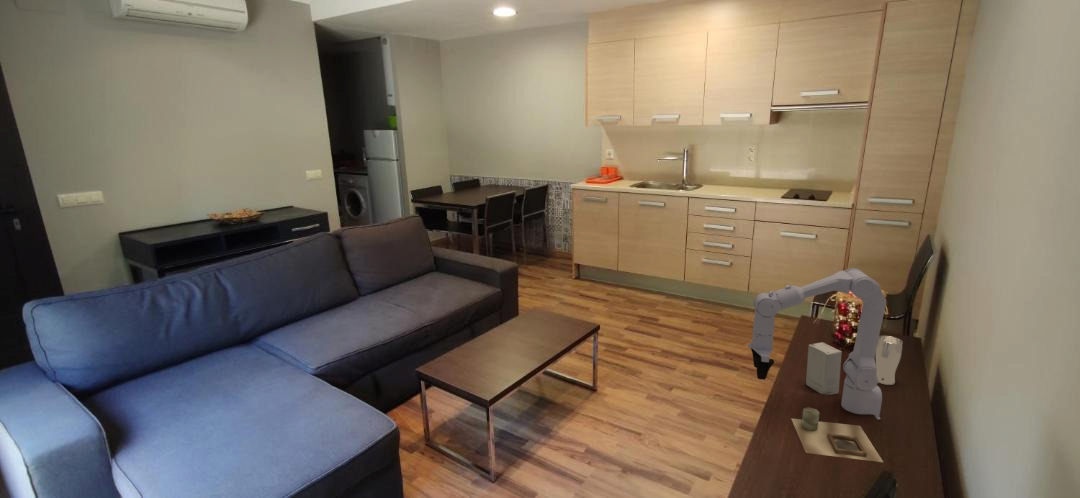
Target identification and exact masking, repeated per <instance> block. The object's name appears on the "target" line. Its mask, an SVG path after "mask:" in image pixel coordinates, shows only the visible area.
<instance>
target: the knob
mask: <svg viewBox="0 0 1080 498" xmlns="http://www.w3.org/2000/svg"><path fill="white" fill-rule="evenodd" d="M801 417H802V427H803V428H804V429H806V430H808V431H816V430H817V428H818V421H819V419H820V411H819V410H818V409H816V408H813V407H804V408H803V410H802V416H801Z"/></svg>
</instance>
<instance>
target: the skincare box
mask: <svg viewBox="0 0 1080 498" xmlns="http://www.w3.org/2000/svg"><path fill="white" fill-rule="evenodd" d="M807 349H808V352H807V365H806V383H805V385H807V387H809V388H811V389H812V390H814V391H816V392H817V393H819V394H821V395H828V396H829V395H830V396H831V395H838V394H839V393H840V381H841V366H842V365H841V363H842V352H843V351H841V350H839V349H837V348H836V347H833V346H831V345H829V344H827V343H825V342H817V343H815V342H814V343H812V344H811V343H810V344H808V348H807Z"/></svg>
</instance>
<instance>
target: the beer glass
mask: <svg viewBox="0 0 1080 498" xmlns="http://www.w3.org/2000/svg"><path fill="white" fill-rule="evenodd" d="M903 342H904V341H903V340H902V339H900V338H898V337H895V336H891V335H879V339H878V343H877V348H876V352H875V363H876V367H877V371H876V375H877V378H878V384H882V385H886V386H893V385H895V384H896V380H895V378H896V377H895V376H896V375H895V374H896V371H897V369H898V366H899V363H900V361H901V358H902V352H903Z"/></svg>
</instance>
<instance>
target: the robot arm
mask: <svg viewBox="0 0 1080 498" xmlns="http://www.w3.org/2000/svg"><path fill="white" fill-rule="evenodd" d="M833 291H835V292H839V293H843V294H845V295H849V294H850V292H851V293H852V294H853V296H855V297H857V298H858V299H860V300H861V301H862V303H863V304H862V306H861V307H862V308H861V311H860V312H861V313H860V317H859V321H858V327H857V332H856V337H855V343H854V346H853V350H852V351H851V352H850V353H848V357H847V359H846V360H845V361H844V363H843V365H842V370H843V372H844V373H845V374H846V375H845V378H844V383H843V389H842V397H841V403H840V405H841V407H842V408H843V409H844V410H846V411H847V412H848V413H852V414H856V415H872V416H873V415H874V417H875V418H876V420H879V421H880V420H881V417H880V415H881V408H882V403H883V393H882V390H881V388H880V386H878V384H879V383H878V378H877V375H876V371H877V367H876V348H877V343H878V339H879V337H880V335H881V334H880V333H881V328H882V324H883V320H884V315H885V311H886V306H887V299H886V297H885V295H884V293H883V291H882V288H881V285H880V284H879V283H878V282H877V281H876V280H875V279H874V278H871V277H870V276H869V275H867V274H866V273H865V272H864V271H863V270H861V269H859V268H856V267H853V268H847V269H845V270H839V271H837V272H836V273H834V274H832V275H829V276H826V277H823V278H822V279H819V280H816V281H814V282H810V283H807V284H805V285H803V286H797V285H796V284H795V285H790V284H787V285H785V286H784V288H781V289H778V290H774V291H773V290H771V291H769V292H768V293H767V292H761V293H759V294H757V295H756V296H755V298H754V300H753V305H754V307H755V308H754V309H755V311H754V317H753V328H752V341H751V342H749V343H747V347H748V348H749V349H750V350H751V353H752V360H753V361H752V362H753V366H754V367H753V368H756V369H755V370H756V377H757V379H758V380H764V381H766V379H767V377H768V373H769V371H770V369H771V368H772V366H773V365H774V363H775V360H774V359H773V358H772V359H771V358H770V355H771V354H772V352H773V350H774V347H773V346H774V345H773V344H774V343H773V342H774V333H775V323H776V321H775V316H776V315H778V313H779V311H782V310H785V309H786V310H787V309H789V308H792V307H795V306H798V305H801V304H803V303H804V301H805V300H806V299H807V298H811V297H814V296H819V295H823V294H826V293H831V292H833Z"/></svg>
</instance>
